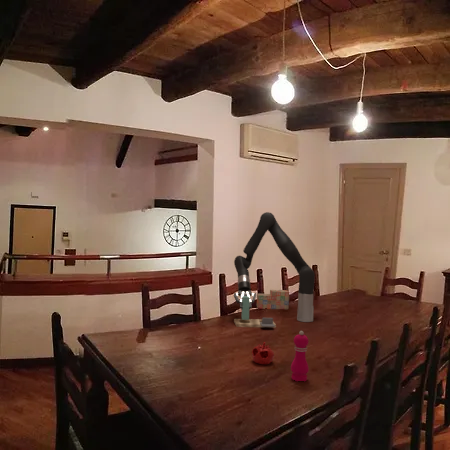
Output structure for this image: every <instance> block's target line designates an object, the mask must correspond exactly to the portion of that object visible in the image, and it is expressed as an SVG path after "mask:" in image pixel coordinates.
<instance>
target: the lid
mask: <svg viewBox="0 0 450 450" xmlns="http://www.w3.org/2000/svg"><path fill="white" fill-rule="evenodd" d="M261 319H262V322H260V324H261V326H262V327H261V328H270V327H275V325H274V324H273V321H274V318H273V317H262V318H261Z"/></svg>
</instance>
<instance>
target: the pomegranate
mask: <svg viewBox="0 0 450 450" xmlns="http://www.w3.org/2000/svg"><path fill="white" fill-rule="evenodd" d="M269 346H272V345H271V344H268V345H266V341H263V343H262V345H261V344H260V343H259V344H257V345H256V346H255V347H253V348H252V351H251V356H252V361H253V362H254V363H256V364H259V365H270V364H271V363H272V362H273V361H274V358H275V353H274V351H273V350H272V349H271V347H269Z"/></svg>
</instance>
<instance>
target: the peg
mask: <svg viewBox="0 0 450 450" xmlns="http://www.w3.org/2000/svg"><path fill="white" fill-rule="evenodd" d="M250 299H251V296H250V297H249V296H242V304H243V309H241V315H240V316H241V318H240V319H242V320H249V319H250V309H249V305H250Z"/></svg>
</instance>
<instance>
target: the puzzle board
mask: <svg viewBox="0 0 450 450" xmlns="http://www.w3.org/2000/svg"><path fill="white" fill-rule="evenodd" d="M233 322H234V324H235V326H236V328H239V327H240V328H263V327H262V326H261V324H260V322H262V318H260V319H259V318H257V319H256V318H249V320H242V318H234V319H233ZM273 324H274V325H275V327H269V328H273V329H274V328H277V324H276V323H275V322H274V320H273Z"/></svg>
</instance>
